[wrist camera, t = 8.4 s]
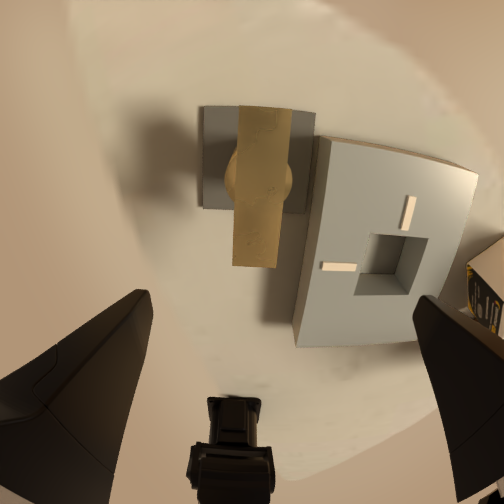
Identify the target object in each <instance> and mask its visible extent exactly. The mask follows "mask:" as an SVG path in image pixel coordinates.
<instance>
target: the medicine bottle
mask: <svg viewBox="0 0 504 504" xmlns="http://www.w3.org/2000/svg"><path fill="white" fill-rule="evenodd" d="M466 268H467V288H468V308H469V310H470V311H471V312H472V313H473V315H474V316H475V317H476V319H477V320H478V321H479V323H480V324H481V325H482V326H484V327H486V328H487V329H489V330H490V331H492V332H493V333H495V334H497V335H498V336H500V337H501V338H502V339H504V237H503V238H501V239H500V240H499V241H497V242H496V243H494V244H493V245H492V246H490V247H489V248H488V249H486V250H485V251H483V252H482V253H481V254H479V255H478V256H476V257H475V258H473V259H472V260H470V261H469V262H467V265H466Z"/></svg>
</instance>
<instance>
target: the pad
mask: <svg viewBox="0 0 504 504" xmlns="http://www.w3.org/2000/svg"><path fill="white" fill-rule="evenodd" d="M315 115H316V113H312V112H304V111H295V110H292V117H291V129H290V140H289V151H288V162H287V163H288V165H289V167H290V169H291V173H292V187H291V190H290V193H289V195H288V196H287V198H286V199H285V200H284V202H283V211H282V212H283V213H299V214H305V207H306V199H307V191H308V183H309V174H310V165H311V156H312V147H313V137H314V126H315ZM238 118H239V107H236V106H204V128H203V209H222V210H234V202H233V201H232V200H231V198H230V197H229V195H228V193H227V191H226V188H225V180H224V178H225V172H226V169H227V166H228V164H229V161H230V159H231V156H232V154H233V151H234V149H235V147H236V146H237V136H238Z"/></svg>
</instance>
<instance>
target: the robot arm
mask: <svg viewBox="0 0 504 504" xmlns="http://www.w3.org/2000/svg"><path fill="white" fill-rule="evenodd" d="M152 320H153V307H152V303H151V298H150V293H149V291H148V290H143V289H136V290H134V291H132V292H131V293H129V294H128V295H126V296H125V297H123V298H122V299H120V300H119V301H117V302H116V303H114V304H113V305H111V306H110V307H108V308H107V309H105V310H104V311H102V312H101V313H100V314H98V315H97V316H95V317H94V318H92V319H91V320H89V321H88V322H87V323H85V324H84V325H82V326H81V327H79V328H78V329H76V330H75V331H73V332H72V333H71V334H69V335H68V336H66V337H65V338H64V339H62V340H61V341H59V342H58V343H57V344H55V345H54V346H52V347H51V348H49V349H48V350H47V351H45V352H44V353H42V354H41V355H39V356H38V357H36V358H35V359H33V360H32V361H30V362H29V363H27V364H25V365H24V366H22V367H21V368H19V369H17V370H16V371H14V372H12V373H11V374H9V375H7V376H6V377H4V378H3V379H1V380H0V504H109V499H110V493H111V488H112V483H113V479H114V473H115V468H116V464H117V460H118V455H119V451H120V446H121V442H122V438H123V434H124V430H125V427H126V423H127V419H128V415H129V412H130V408H131V404H132V401H133V397H134V394H135V390H136V387H137V383H138V380H139V376H140V373H141V370H142V367H143V363H144V359H145V356H146V351H147V346H148V340H149V335H150V330H151V325H152ZM412 320H413V324H414V327H415V331H416V335H417V338H418V342H419V346H420V350H421V354H422V357H423V360H424V363H425V366H426V369H427V372H428V375H429V378H430V381H431V384H432V388H433V391H434V394H435V398H436V401H437V405H438V408H439V412H440V415H441V419H442V423H443V427H444V431H445V436H446V440H447V444H448V449H449V453H450V460H451V465H452V471H453V477H454V483H455V491H456V498H457V502H458V503H459V502H461V501H462V500H464V499H467V498H468V497H470V496H472V495H474V494H476V493H478V492H479V491H481V490H483V489H484V488H486V487H488V486H489V485H491V484H493V483H494V482H496V484H497V487H498V488H497V489H495V490H494V491H493V492H491V493H490V494H488V495H487V496H485V497H484V498H482V499H480V500H479V503H478V504H504V339H502V338H501V337H500V336H498V335H497V334H495V333H493V332H492V331H490V330H489V329H487V328H486V327H484V326H482V325H481V324H479V323H478V322H476V321H474V320H473V319H471V318H469V317H468V316H466V315H465V314H463V313H461V312H460V311H458V310H456V309H455V308H453V307H451V306H450V305H448V304H446V303H445V302H443V301H441V300H439V299H438V298H436V297H434V296H433V295H422V296H420V298H419V300H418V302H417V305H416V307H415V309H414V312H413V315H412ZM207 403H208V411H209V418H210V421H211V424H210V435H209V444H208V443H201V442H196V445H194V446H191V452H190V459H189V463H188V468H187V473H186V477H187V478H188V479H189V480H190V483H191V484H192V489H196V490H198V491H197V500H198V504H269V503H270V494H272V493H273V492H274V488H275V468H274V462H273V455H272V449H271V446H267V447H257V423H258V420H259V414H260V408H261V400H260V399H241V398H221V397H208V398H207Z"/></svg>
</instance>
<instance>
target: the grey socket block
mask: <svg viewBox="0 0 504 504" xmlns="http://www.w3.org/2000/svg"><path fill="white" fill-rule="evenodd" d="M478 175H479V174H477V173H475V172H473V171H471V170H469V169H466V168H464V167H462V166H460V165H457V164H455V163H451V162H448V161H444V160H441V159H437V158H433V157H430V156H426V155H422V154H418V153H414V152H409V151H405V150H401V149H396V148H391V147H387V146H382V145H377V144H371V143H366V142H360V141H354V140H348V139H341V138H335V137H327V136H320V138H319V147H318V156H317V165H316V174H315V182H314V190H313V197H312V205H311V212H310V219H309V226H308V233H307V239H306V246H305V252H304V258H303V264H302V270H301V276H300V282H299V288H298V293H297V299H296V304H295V310H294V315H293V320H292V327H293V333H294V339H295V346H296V348H311V347H342V346H360V345H375V344H387V343H397V342H407V341H416V340H417V339H418V338H417V335H416V331H415V327H414V324H413V320H412V315H413V312H414V309H415V307H416V305H417V302H418V300H419V298H420V296H422V295H433V296H434V297H436V298H438V297H439V294H440V292H441V290H442V288H443V285H444V283H445V280H446V278H447V276H448V273H449V271H450V268H451V266H452V263H453V260H454V258H455V255H456V252H457V249H458V247H459V244H460V241H461V238H462V235H463V232H464V228H465V225H466V222H467V219H468V215H469V212H470V208H471V204H472V201H473V197H474V193H475V189H476V184H477V180H478ZM370 233H372V234H385V235H397V236H406V239H405V242H404V246H403V249H402V252H401V255H400V259H399V262H398V265H397V268H396V271H395V274H360V271H361V267H362V264H363V260H364V256H365V252H366V249H367V245H368V241H369V237H370Z"/></svg>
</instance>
